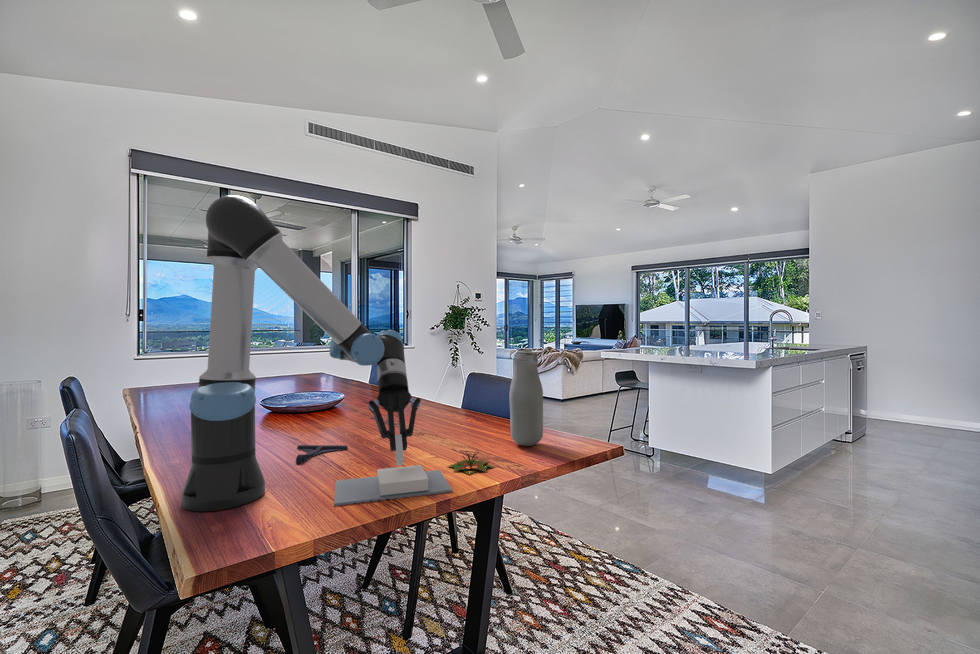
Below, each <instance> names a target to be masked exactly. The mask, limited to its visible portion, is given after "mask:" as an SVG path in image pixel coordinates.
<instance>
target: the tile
mask: <svg viewBox="0 0 980 654" xmlns="http://www.w3.org/2000/svg"><path fill="white" fill-rule="evenodd" d="M376 476H377V481H378V487H379V492H380V496H388V495H397V494H405V493H414V492H422V491H426V490H428V477H427V475H426V473H425V469H424V467H423V466H422V464H417V465H408V466H406V465H405V466H396V467H395V466H394V467H385V468H378V469H376Z"/></svg>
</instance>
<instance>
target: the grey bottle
mask: <svg viewBox="0 0 980 654" xmlns="http://www.w3.org/2000/svg"><path fill="white" fill-rule="evenodd" d="M512 361H513V375H512V378H511V382H510V385H509V387H510V388H509V396H508V397H509V398H508V400H509V418H510V419H509V420H510V422H509V425H510V427H509V428H510V436H511V439H512V440H513V442H514V443H515V444H517V445H519V446H523V447H524V446H525V447H532V446H535V445H538V444H539V442H541V440H542V438H543V437H544V390H543V387H542V386H543V384H542V381H541V378H540V375H539V370H538V363H539V360H538V353H536V352H535V351H532V350H530V349H529V350H526V349H525V350H524V349H523V350H518V351H516V352H515V353H514V354H513V360H512Z"/></svg>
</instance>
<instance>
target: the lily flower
mask: <svg viewBox="0 0 980 654" xmlns="http://www.w3.org/2000/svg"><path fill="white" fill-rule="evenodd" d="M464 453H465V456H466V457H467V458H466V457H465V456H464V455H462V456H461V457H462V458H463V460H460V461H457V463H453V464H450V465H447V467H448V468H454V469H453V471H452V472H453V473H454V472H458V471H461V470H462V471H463V472H464V473H465V474H467V475H468V476H469V475H472V474H473V473H475V472H478V470H479V471H481V472H484V473H487V467H490V468H495V466H494V465H492V464H486V463H489V462H488V461H483V460H477V459H479V456H477V454H479V453H480V451H479V450H478V449H477V450H475V452H474V454H473V455H472V452H471V453H469V451H468V450H464ZM471 455H472V456H471ZM482 465H483V466H482ZM476 466H477V468H476ZM485 466H486V467H485ZM466 467H469V468H470V467H475V468H476V469H474V470H475V471H473V470H471V471H472V472H471V471H469V470H468V469H466ZM490 468H489V469H490ZM465 469H466V470H465ZM467 470H468V471H469V472H470V473H469V472H468V471H467Z"/></svg>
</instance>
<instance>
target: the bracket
mask: <svg viewBox="0 0 980 654" xmlns="http://www.w3.org/2000/svg"><path fill="white" fill-rule="evenodd" d="M348 448H349V446H348V445H344V444H343V445H339V444H338V445H337V444H336V445H334V444H333V445H332V444H331V445H329V444H328V445H325V444H324V445H323V444H322V445H321V444H320V445H319V444H305V445H304V444H303V445H302V444H299V445H297V448H296V450H297V449H299V450H298V451H301V450H304V451H303V452H305V451H306V452H305V453H306V454H297V456H296V458H295V459H296V460H295V464H296V465H302V464H303V463H304V461H305V462H306V461H308V460H310V459H311V458H312V456H313V457H315V456H319V455H323V454H327V452H328V453H333V452H334V453H335V452H341V451H346V450H348ZM313 449H315V450H313ZM322 450H323V451H322ZM322 453H323V454H322ZM310 457H311V458H310ZM309 458H310V459H309ZM307 459H308V460H307ZM302 462H303V463H302ZM301 463H302V464H301Z"/></svg>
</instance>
